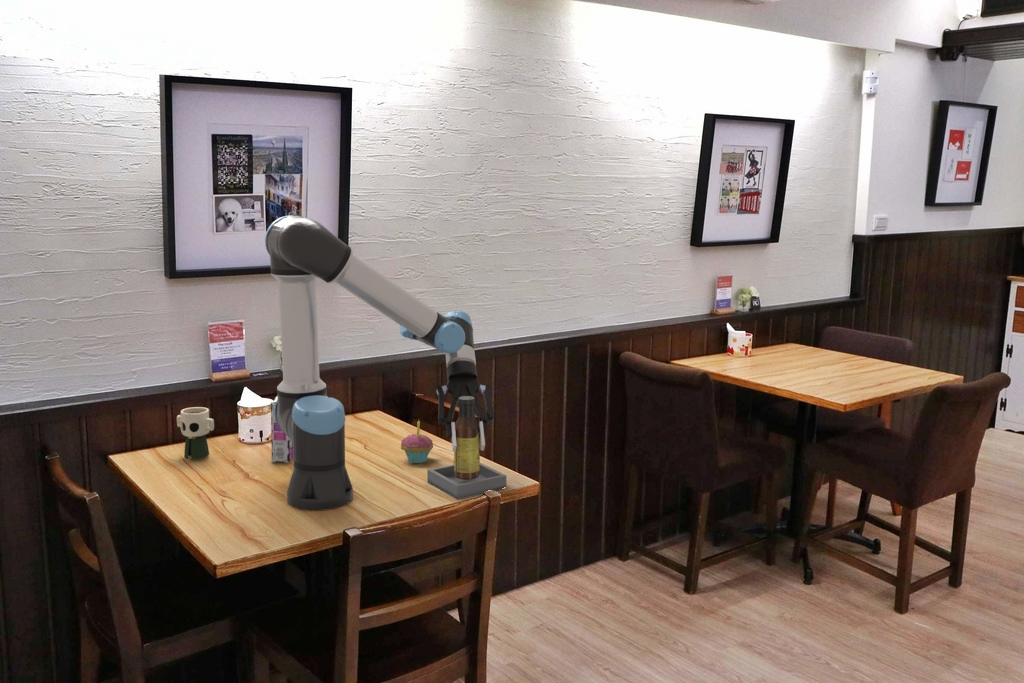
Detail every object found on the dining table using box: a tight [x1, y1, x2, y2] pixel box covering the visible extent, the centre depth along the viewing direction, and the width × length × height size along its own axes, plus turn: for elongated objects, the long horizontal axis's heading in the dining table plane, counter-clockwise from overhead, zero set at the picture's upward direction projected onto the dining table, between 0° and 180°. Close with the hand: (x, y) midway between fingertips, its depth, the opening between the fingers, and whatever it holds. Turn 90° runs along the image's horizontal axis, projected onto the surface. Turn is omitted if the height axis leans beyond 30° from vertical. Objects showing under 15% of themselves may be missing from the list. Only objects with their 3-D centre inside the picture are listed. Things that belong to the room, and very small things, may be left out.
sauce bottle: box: [453, 396, 481, 480], centre depth 224 cm, size 6×6×20 cm
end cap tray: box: [427, 462, 508, 500], centre depth 226 cm, size 14×14×3 cm
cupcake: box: [400, 419, 434, 464], centre depth 243 cm, size 9×8×12 cm
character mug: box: [176, 406, 215, 461], centre depth 241 cm, size 11×7×13 cm, turn 74°
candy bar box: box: [270, 396, 294, 464], centre depth 243 cm, size 11×5×16 cm, turn 2°
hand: (468, 448), depth 220 cm, fingers closed on sauce bottle, 6 cm apart
